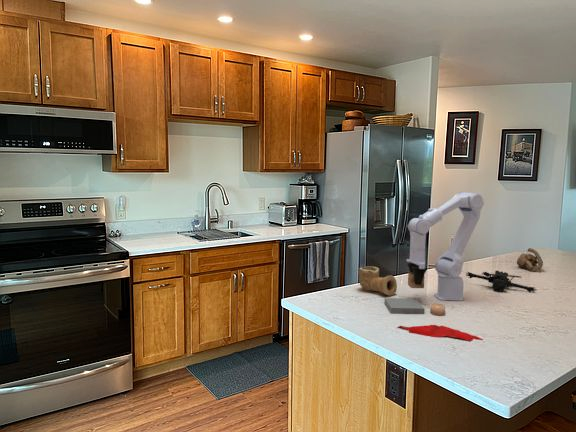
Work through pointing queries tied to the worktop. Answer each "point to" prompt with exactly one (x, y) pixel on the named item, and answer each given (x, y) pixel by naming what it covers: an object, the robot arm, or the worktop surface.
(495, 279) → the toy
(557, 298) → the worktop surface
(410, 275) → the walnut cube
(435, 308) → the terracotta puck
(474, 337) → the cloth
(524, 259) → the tan lumpy piece
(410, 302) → the slate base
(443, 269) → the robot arm
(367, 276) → the pipe
